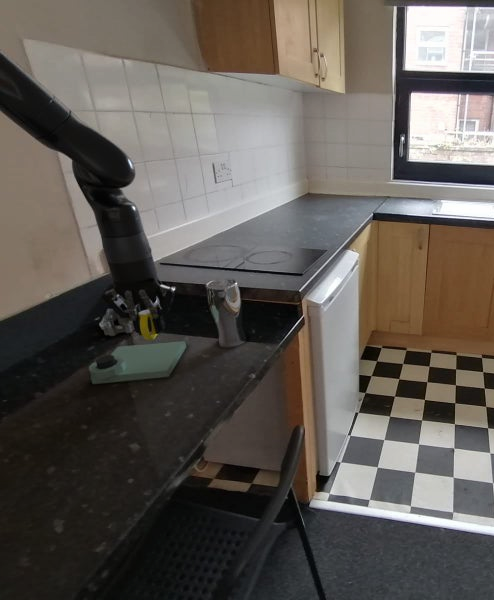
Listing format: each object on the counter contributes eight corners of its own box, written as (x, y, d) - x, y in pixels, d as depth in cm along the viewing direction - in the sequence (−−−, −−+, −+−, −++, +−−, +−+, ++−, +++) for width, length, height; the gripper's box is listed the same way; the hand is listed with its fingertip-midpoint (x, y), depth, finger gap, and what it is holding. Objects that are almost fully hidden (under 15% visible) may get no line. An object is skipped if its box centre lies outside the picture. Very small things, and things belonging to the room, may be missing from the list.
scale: (88, 388, 79) (82, 373, 77) (118, 354, 91) (113, 340, 89) (167, 380, 81) (163, 366, 80) (186, 348, 93) (183, 334, 91)
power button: (95, 370, 79) (92, 363, 79) (102, 362, 82) (100, 355, 81) (112, 368, 80) (109, 362, 79) (118, 360, 82) (116, 354, 82)
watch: (155, 343, 84) (147, 317, 81) (141, 344, 83) (132, 319, 81) (164, 329, 89) (157, 305, 87) (150, 331, 88) (143, 306, 86)
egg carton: (136, 333, 99) (132, 319, 97) (100, 339, 97) (95, 324, 95) (143, 315, 108) (139, 301, 106) (111, 320, 106) (106, 306, 104)
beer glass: (210, 347, 93) (197, 287, 87) (230, 333, 99) (219, 276, 93) (235, 351, 91) (223, 291, 85) (254, 337, 98) (244, 279, 91)
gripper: (79, 263, 74) (107, 344, 81) (161, 259, 76) (181, 338, 83) (99, 251, 81) (123, 327, 88) (173, 248, 83) (191, 322, 90)
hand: (151, 332), depth 86 cm, fingers closed on watch, 2 cm apart
